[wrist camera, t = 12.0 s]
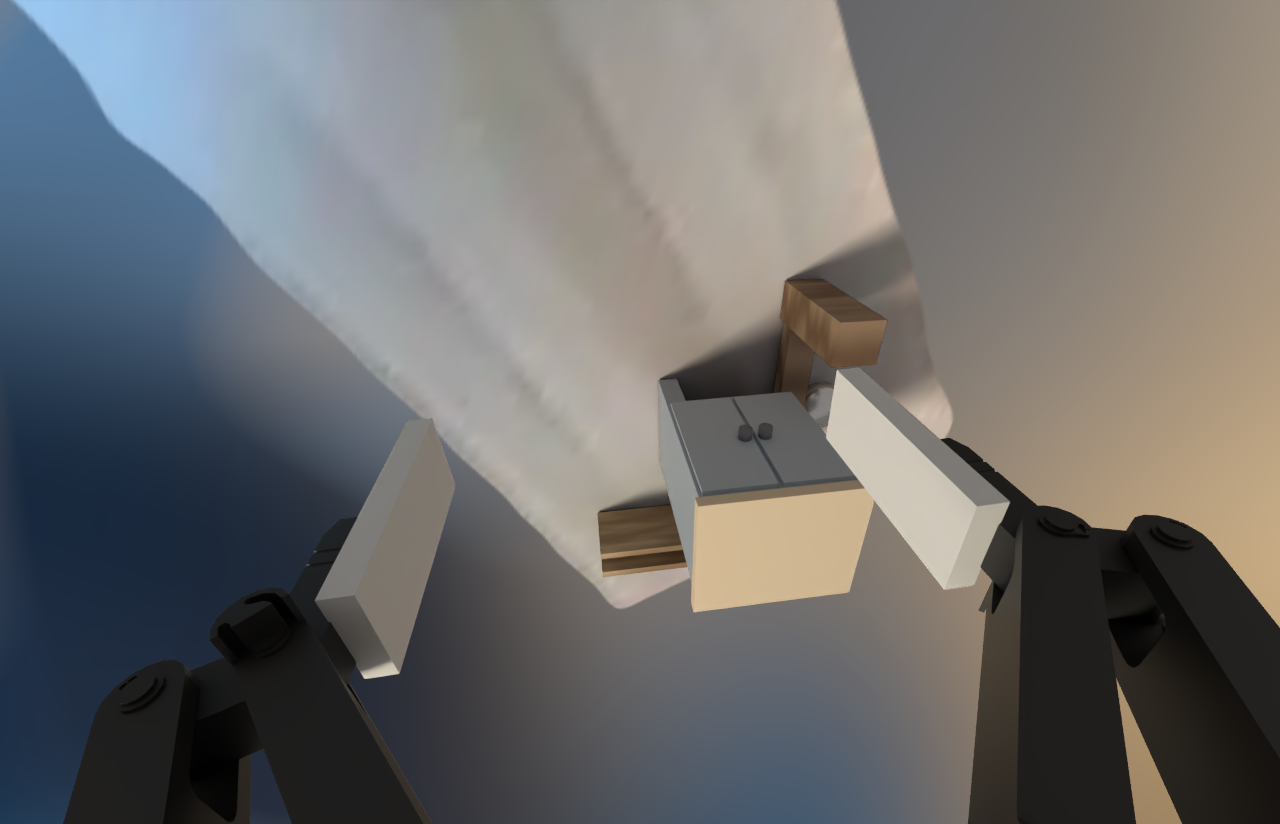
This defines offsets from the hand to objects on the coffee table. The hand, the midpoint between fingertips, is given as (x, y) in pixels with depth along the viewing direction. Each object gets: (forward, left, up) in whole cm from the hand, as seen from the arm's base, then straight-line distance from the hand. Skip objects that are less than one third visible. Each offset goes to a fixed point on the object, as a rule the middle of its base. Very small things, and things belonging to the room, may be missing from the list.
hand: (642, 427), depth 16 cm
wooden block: (+15, +21, -34) cm, 42 cm away
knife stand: (+36, +8, -34) cm, 50 cm away
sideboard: (+22, +12, -34) cm, 42 cm away
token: (+21, +25, -34) cm, 47 cm away
